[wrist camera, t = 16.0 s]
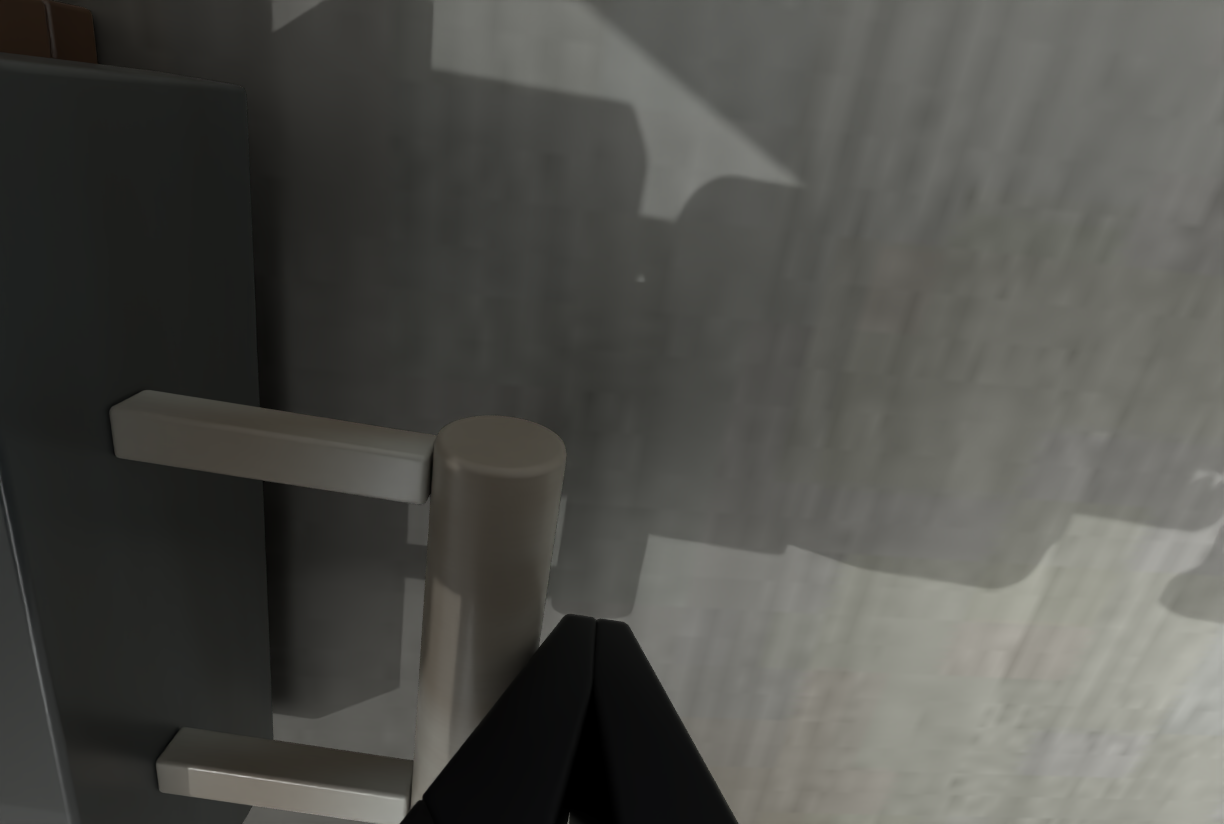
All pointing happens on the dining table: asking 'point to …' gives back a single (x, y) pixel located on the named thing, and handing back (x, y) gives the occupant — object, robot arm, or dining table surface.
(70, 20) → the cabinet
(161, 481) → the drawer
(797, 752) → the dining table surface
